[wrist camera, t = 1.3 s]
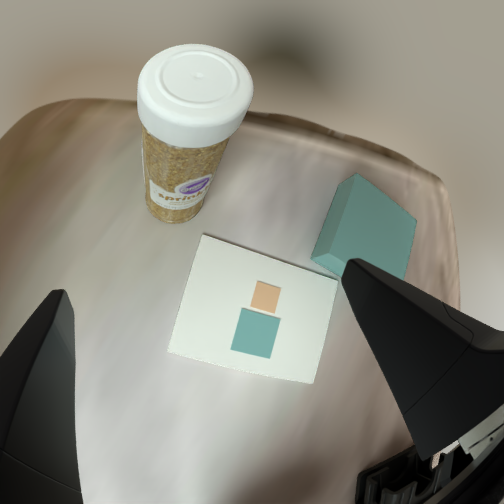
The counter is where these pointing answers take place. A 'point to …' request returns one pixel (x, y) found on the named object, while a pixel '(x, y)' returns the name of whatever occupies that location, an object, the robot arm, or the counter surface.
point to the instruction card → (253, 313)
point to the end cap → (400, 480)
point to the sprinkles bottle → (188, 123)
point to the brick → (365, 230)
